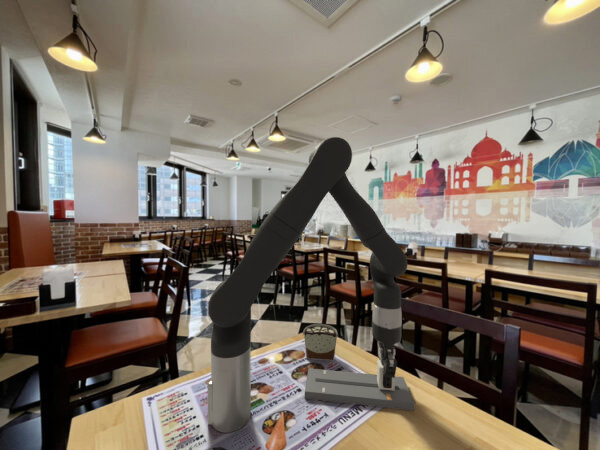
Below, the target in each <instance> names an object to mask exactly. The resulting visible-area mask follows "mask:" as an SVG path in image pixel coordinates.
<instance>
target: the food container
mask: <svg viewBox="0 0 600 450" xmlns="http://www.w3.org/2000/svg"><path fill="white" fill-rule="evenodd" d="M302 336H304V345H305V347H304V348H305V354H306V355H305V357H306V360H315V359H319V360H318V361H330V362H331V361H332V362H334V361H335V355H336V354H335V353H336V347H337V346H336V345H337V338H338V339H339V333H338V330H337V329H336V328H335V327H333V326H332V325H328V324H324V323H315V324H310V325H308V326H305V328H304V329H303V331H302Z"/></svg>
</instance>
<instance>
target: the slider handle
mask: <svg viewBox="0 0 600 450" xmlns="http://www.w3.org/2000/svg"><path fill="white" fill-rule="evenodd" d="M376 361H377V362H376V375H377V383H378V386H379V389H383V390H393V391H395V378H393V377H392V388H384V387H383V373H382V371H383V365H382V364H381V360H379V359H377V360H376ZM383 361H385V360H383Z"/></svg>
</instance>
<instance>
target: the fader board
mask: <svg viewBox="0 0 600 450" xmlns="http://www.w3.org/2000/svg"><path fill="white" fill-rule="evenodd" d="M306 375H307V376H306V382H305V387H304V399H305V400H314V401H315V400H317V401H324V402H335V403H340V404H351V405H359V404H361V406H368V405H369V406H371V407H379V408H385V409H387V408H388V409H396V410H405V411H413V412H414V411H415V401H414V399H413V396H412V394H411V392H410V389H409V387H408V384H407V382H406V380H405V377H404V376H397V375H395V391H393V390H383V389H379V386H378V383H377V374H372V373H362V372H361V373H360V372H351V371H341V370H340V371H339V370H330V369H320V368H309V367H308V371H307V374H306Z"/></svg>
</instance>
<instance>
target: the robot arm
mask: <svg viewBox="0 0 600 450" xmlns="http://www.w3.org/2000/svg"><path fill="white" fill-rule="evenodd" d="M352 160H353V151H352V147H351V145H350V144H349V142H348V141H347V140H346V139H344V138H343V137H338V136H332V137H328V138H326V139H323V140H321V142H319V143H318V144H317V145H316V146H315V147H314V148H313V149H312V150H311V152H310V154H309V157H308V165H307V166H306V168H305V170H304V171H303V173H302V175H301V176H300V177H299V178H298V180H297V182H295V184H294V185H293V186H291V188H290V189H289V190H287V192H286V193H285V194H284V195H283V196H282V197H281V198H280V200H278V202H277V203H276V204H275V206H274V207H273V208H272V209H271V210H270V212H269V213H268V214H267V216H266V217H265V218H264V220H263V222H262V223H261V224H260V226H259V227H258V229H257V231H256V232H255V234H254V235H253V237H252V239H251V241H250V243H249V245H248V247H247V249H246V251H245V253H244V256H243V257H242V258H241V260H240V262H239V263H238V265H237V266H236V267H235V269H234V270H233V271H232V273H231V274H230V275H229V276H228V277H227V279H225V280H223V281H222V282H220V283H219V284H218V285H217V286H216V287H215V289H214V291H213V293H212V294H211V296H210V297H209V301H208V304H207V306H208V307H207V312H208V315H209V316H208V317H209V319H210V320H211V322H212V330H211V331H212V332H211V337H210V338H211V339H210V380H209V382H208V383H207V424H208V425H211V426H212V427H213V429H214V430H216V431H217V432H220V433H225V434H226V433H227V434H228V433H233V432H235V431H238V430H240V429H242V428H243V427H244V426H245V425H246V424H247V423H248V422H249V420H250V419H251V418H250V417H251V413H252V412H251V408H252V405H251V404H252V402H251V401H252V400H251V397H252V396H251V395H252V394H251V393H252V390H251V388H252V387H251V386H252V384H251V383H252V379H251V378H252V377H251V376H252V375H251V373H252V372H251V370H252V367H251V365H252V364H251V361H252V359H251V357H252V356H251V353H252V351H251V347H252V346H251V344H252V343H251V339H252V338H251V336H252V307H253V304H254V303H255V301H256V299H257V297H258V295H259V293H260V292H261V290H262V288H263V287H264V285H265V284H266V282H267V280H268V279H269V278H270V276H271V275H272V274H273V273H274V272H275V270H276V269H277V268H278V266H279V265H280V264H281V262H283V260H284V259H285V258H286V256H288V255H287V254H288V253H290V250H292V248H293V247H294V245H295V244H296V243H297V241H298V239H299V238H300V237H301V235H302V234H303V232H304V230H305V229H306V227H307V225H308V224H309V223H310V221H311V220H312V218H313V217H314V215H315V213H316V211H318V210H317V209H318V208H319V207H320V206H321V203H322V201H323V200H324V198H325V197H326V196H327V195H328V193H329V194H330V196H331V197H332V198H333V199H334V201H335V202H336V204H337V205H338V207H339V209H341V212H343V214H344V216H345V217H346V219H347V221H348V222H349V224H350V225H351V227H352V229H353V231H354V233H355V234H356V236H357V237H358V239H359V241H360V243H361V244H362V245H363V246H364V247H365V248H366V249H368V250H369V251H371V252H372V253H371V255H370V259H369V268H370V269H369V270H370V276H371V280H372V284H373V307H372V319H371V320H372V323H371V324H372V325H371V326H372V330H371V332H372V333H371V335H372V337H373V338H374V339H375V340H376V341H377V357H378V360H381V364H382V365H383V371H382V373H383V387H384V388H392V377H393V378H395V376H396V371H397V367H398V360H397V359H396V358H395V356H396V348H395V347H394V345H395V344H399V343H401V340H402V327H403V326H402V322H403V321H402V320H403V317H402V314H403V313H402V289H401V287H400V285H399V284H398V283H397V282H396V281H395V278H399V277H401V276H402V275H404V274H405V273H406V271H407V269H408V259H407V256H406V254H405V252H404V251H403V249H402V248H401V247H400V245H399V244H398V243H397V242H396V241H395V239H393V237H392V236H391V235H390V234H388V232H387V231H386V229H385V227H384V225H383V223H382V221H381V220H380V217H379V216H378V215H377V213H376V212H375V210H374V209H373V208H372V206H371V205H370V204H369V203H368V202H367V201H366V199H364V198H363V197H362V196H361V195H360V194H359V192H358V191H357V190H356V189H355V187H354V186H353V185H352V183H351V182H350V180H349V179H348V177H347V175H346V173H347V171H349V168H350V166H351V164H352V162H353V161H352ZM383 360H385V361H383Z"/></svg>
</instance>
